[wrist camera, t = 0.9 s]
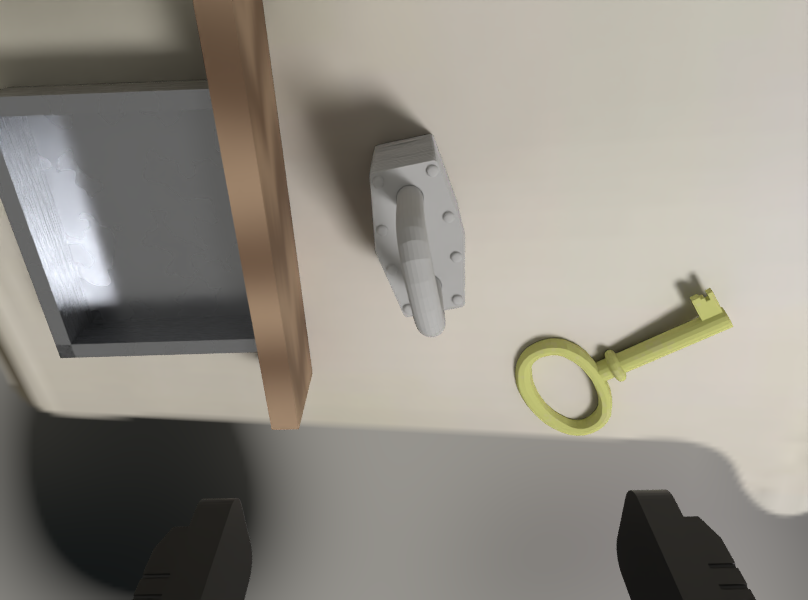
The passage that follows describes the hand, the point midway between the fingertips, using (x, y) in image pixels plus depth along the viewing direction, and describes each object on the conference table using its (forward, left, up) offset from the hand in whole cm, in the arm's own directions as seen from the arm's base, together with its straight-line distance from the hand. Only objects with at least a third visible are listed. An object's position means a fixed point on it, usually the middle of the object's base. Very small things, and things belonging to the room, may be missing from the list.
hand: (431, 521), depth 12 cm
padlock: (0, 0, -20) cm, 20 cm away
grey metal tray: (0, -13, -20) cm, 24 cm away
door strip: (0, -7, -20) cm, 21 cm away
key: (+10, +11, -21) cm, 25 cm away
